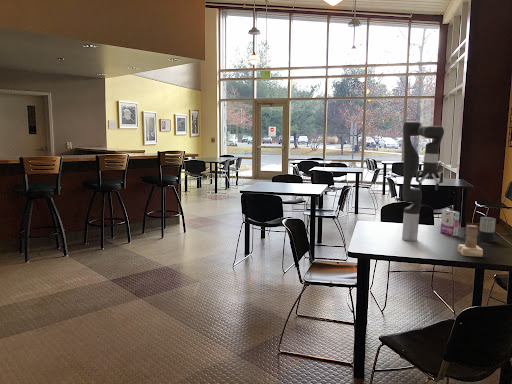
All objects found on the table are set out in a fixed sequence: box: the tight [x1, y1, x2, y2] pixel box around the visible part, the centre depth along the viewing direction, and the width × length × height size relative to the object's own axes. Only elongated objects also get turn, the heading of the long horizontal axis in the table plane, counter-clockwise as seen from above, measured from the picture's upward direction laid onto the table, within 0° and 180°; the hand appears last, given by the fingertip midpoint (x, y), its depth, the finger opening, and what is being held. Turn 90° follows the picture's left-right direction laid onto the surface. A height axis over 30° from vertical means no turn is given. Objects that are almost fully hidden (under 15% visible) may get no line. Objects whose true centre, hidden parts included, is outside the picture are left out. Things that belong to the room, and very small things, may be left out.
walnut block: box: [464, 224, 479, 248], centre depth 233 cm, size 4×4×12 cm
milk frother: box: [464, 216, 497, 243], centre depth 272 cm, size 14×16×15 cm
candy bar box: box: [439, 209, 461, 237], centre depth 284 cm, size 11×5×16 cm, turn 21°
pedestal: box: [457, 243, 484, 258], centre depth 235 cm, size 10×10×4 cm
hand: (428, 189), depth 238 cm, fingers open, 8 cm apart
